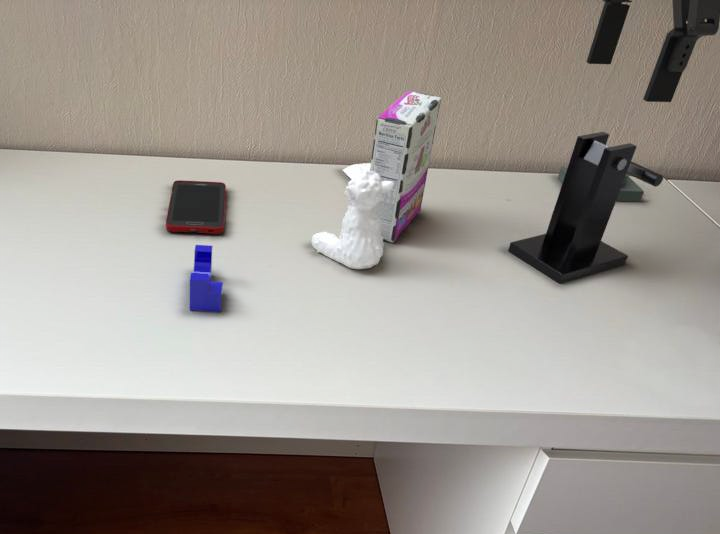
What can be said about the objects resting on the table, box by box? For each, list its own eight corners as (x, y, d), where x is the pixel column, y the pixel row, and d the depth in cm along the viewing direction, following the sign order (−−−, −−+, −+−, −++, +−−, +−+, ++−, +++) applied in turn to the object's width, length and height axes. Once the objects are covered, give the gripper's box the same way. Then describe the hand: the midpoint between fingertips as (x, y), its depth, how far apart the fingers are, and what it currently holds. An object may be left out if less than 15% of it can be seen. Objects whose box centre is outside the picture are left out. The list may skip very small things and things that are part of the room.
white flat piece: (383, 212, 106) (384, 205, 106) (342, 171, 118) (343, 164, 117) (415, 209, 108) (416, 202, 107) (372, 168, 119) (372, 161, 118)
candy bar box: (387, 202, 109) (407, 89, 98) (420, 211, 107) (444, 96, 96) (358, 234, 101) (375, 114, 91) (392, 244, 99) (415, 123, 89)
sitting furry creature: (375, 238, 100) (390, 152, 93) (403, 270, 94) (422, 180, 86) (309, 245, 98) (319, 157, 91) (333, 278, 91) (346, 186, 84)
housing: (618, 180, 120) (626, 159, 118) (640, 201, 114) (649, 180, 112) (557, 177, 120) (564, 156, 118) (575, 199, 113) (583, 177, 111)
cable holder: (220, 312, 84) (221, 281, 82) (189, 310, 84) (189, 279, 82) (224, 275, 91) (225, 246, 88) (195, 274, 91) (195, 244, 88)
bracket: (571, 234, 104) (611, 122, 94) (625, 264, 98) (673, 147, 88) (507, 251, 99) (542, 134, 90) (559, 283, 93) (602, 162, 83)
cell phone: (165, 232, 98) (164, 225, 98) (173, 185, 110) (173, 179, 110) (223, 235, 99) (223, 228, 98) (225, 188, 110) (226, 182, 110)
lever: (623, 176, 98) (634, 158, 97) (656, 191, 95) (667, 173, 94) (574, 154, 91) (585, 135, 90) (607, 170, 88) (618, 150, 87)
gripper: (606, -156, 81) (549, 49, 94) (747, -138, 61) (650, 119, 74) (672, -153, 82) (606, 50, 95) (832, -134, 62) (721, 120, 75)
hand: (625, 81), depth 84 cm, fingers open, 13 cm apart
